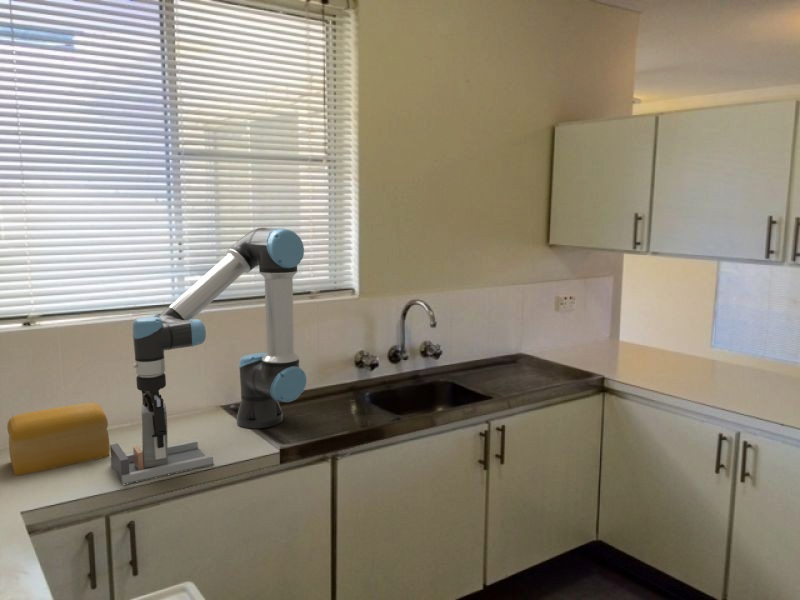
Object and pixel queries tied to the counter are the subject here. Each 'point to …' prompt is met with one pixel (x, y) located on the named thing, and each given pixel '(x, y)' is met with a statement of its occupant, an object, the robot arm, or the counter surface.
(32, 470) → the bread
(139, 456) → the block
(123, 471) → the lane
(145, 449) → the skincare box
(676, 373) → the counter surface
